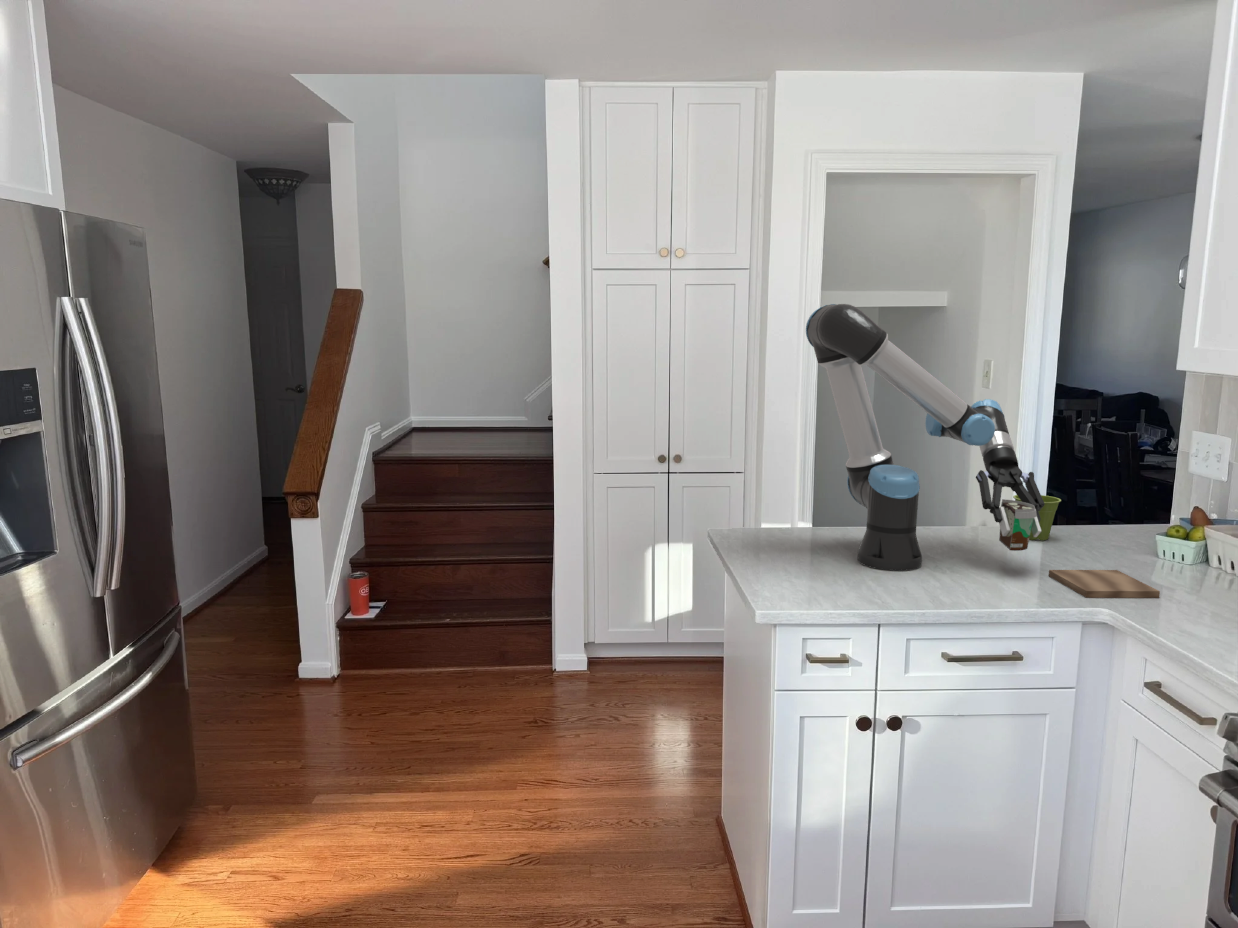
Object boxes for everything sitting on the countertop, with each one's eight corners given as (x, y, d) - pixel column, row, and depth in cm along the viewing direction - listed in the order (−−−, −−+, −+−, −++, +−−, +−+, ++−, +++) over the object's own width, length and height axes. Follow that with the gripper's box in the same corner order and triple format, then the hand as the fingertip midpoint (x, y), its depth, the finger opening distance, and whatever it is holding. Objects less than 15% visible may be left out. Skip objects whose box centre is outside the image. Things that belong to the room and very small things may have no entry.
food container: (1040, 553, 197) (1045, 511, 195) (1011, 552, 198) (1016, 509, 196) (1024, 540, 209) (1028, 500, 207) (997, 538, 210) (1001, 498, 208)
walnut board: (1085, 597, 186) (1086, 590, 186) (1048, 575, 202) (1049, 569, 201) (1159, 597, 186) (1159, 591, 186) (1116, 576, 202) (1116, 569, 202)
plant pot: (1059, 536, 239) (1062, 496, 237) (1055, 545, 229) (1059, 504, 227) (1012, 530, 245) (1016, 491, 243) (1007, 539, 235) (1010, 499, 233)
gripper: (1030, 464, 218) (1056, 542, 205) (954, 461, 218) (974, 540, 204) (1043, 446, 212) (1070, 526, 199) (964, 444, 212) (986, 524, 198)
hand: (1021, 533), depth 201 cm, fingers closed on food container, 7 cm apart
